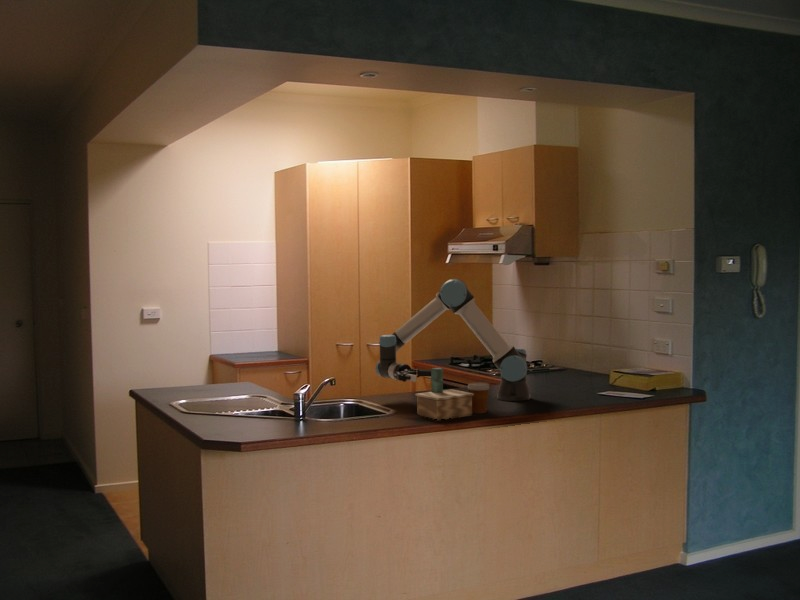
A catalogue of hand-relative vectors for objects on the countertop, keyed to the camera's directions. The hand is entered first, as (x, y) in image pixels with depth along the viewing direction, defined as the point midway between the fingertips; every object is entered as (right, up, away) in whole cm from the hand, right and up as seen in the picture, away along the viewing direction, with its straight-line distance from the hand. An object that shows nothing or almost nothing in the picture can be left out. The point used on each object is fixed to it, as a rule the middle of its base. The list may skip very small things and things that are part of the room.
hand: (428, 377), depth 360 cm
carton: (+6, -15, -7) cm, 18 cm away
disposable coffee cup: (+21, -15, 0) cm, 26 cm away
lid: (+6, -7, -7) cm, 12 cm away
